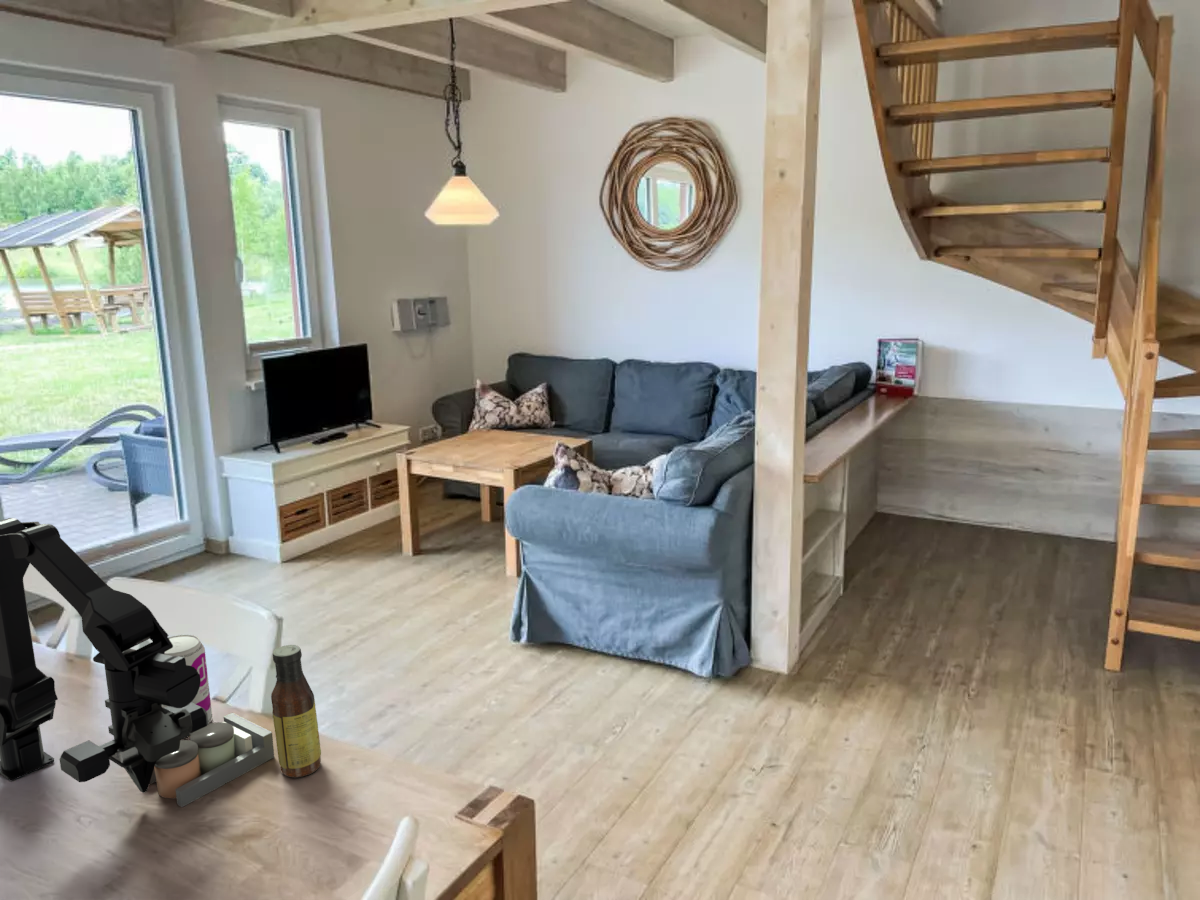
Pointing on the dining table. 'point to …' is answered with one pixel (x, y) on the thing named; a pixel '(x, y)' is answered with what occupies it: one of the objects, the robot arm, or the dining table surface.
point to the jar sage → (214, 745)
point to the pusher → (241, 741)
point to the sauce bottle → (294, 715)
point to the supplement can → (196, 658)
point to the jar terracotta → (177, 769)
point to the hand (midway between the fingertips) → (143, 791)
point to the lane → (229, 762)
